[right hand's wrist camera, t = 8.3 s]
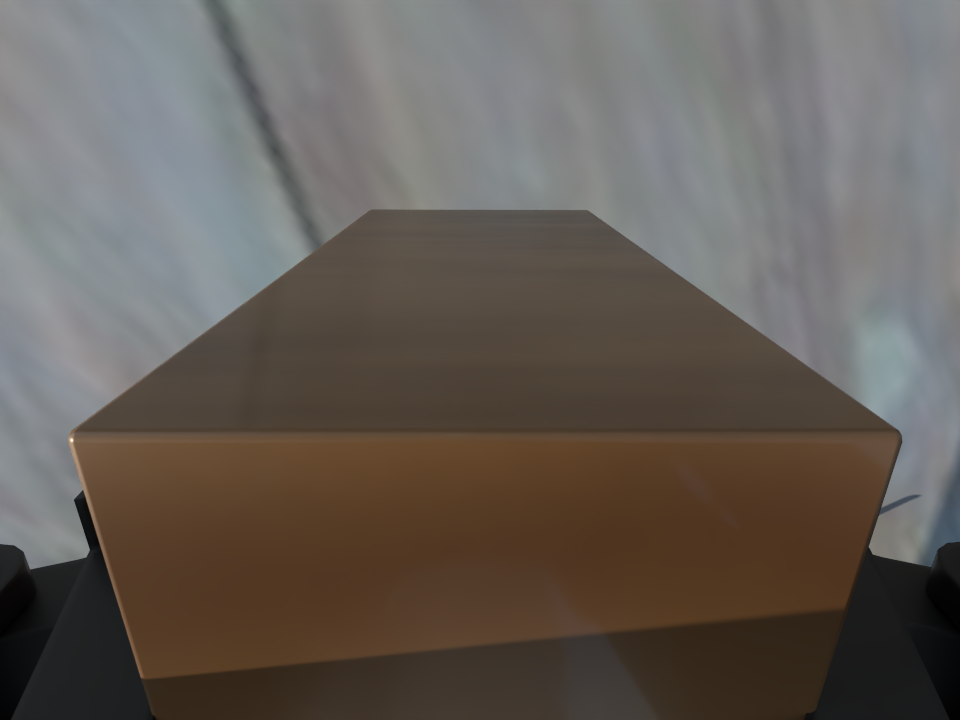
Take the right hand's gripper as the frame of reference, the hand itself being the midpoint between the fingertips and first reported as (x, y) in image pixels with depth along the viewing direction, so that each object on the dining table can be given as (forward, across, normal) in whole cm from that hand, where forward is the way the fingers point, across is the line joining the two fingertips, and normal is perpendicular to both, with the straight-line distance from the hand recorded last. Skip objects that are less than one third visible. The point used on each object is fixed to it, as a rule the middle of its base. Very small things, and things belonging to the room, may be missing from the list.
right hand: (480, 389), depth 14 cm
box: (+3, 0, -9) cm, 9 cm away
